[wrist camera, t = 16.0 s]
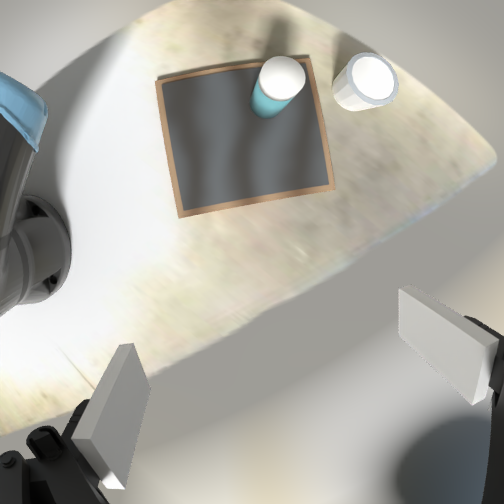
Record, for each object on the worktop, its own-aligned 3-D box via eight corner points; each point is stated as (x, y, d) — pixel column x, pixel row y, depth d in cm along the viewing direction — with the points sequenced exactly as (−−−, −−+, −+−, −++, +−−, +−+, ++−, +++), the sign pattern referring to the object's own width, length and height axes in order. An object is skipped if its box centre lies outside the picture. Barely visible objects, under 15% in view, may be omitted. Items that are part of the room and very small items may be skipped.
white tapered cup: (319, 73, 37) (337, 56, 30) (362, 64, 37) (385, 48, 30) (338, 121, 38) (360, 111, 32) (380, 109, 38) (407, 100, 32)
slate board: (179, 217, 39) (178, 218, 38) (156, 83, 35) (154, 80, 34) (332, 189, 40) (336, 189, 39) (307, 60, 36) (310, 57, 35)
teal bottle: (255, 122, 36) (269, 101, 26) (245, 92, 35) (254, 61, 25) (287, 113, 36) (311, 90, 26) (276, 84, 35) (296, 52, 25)
